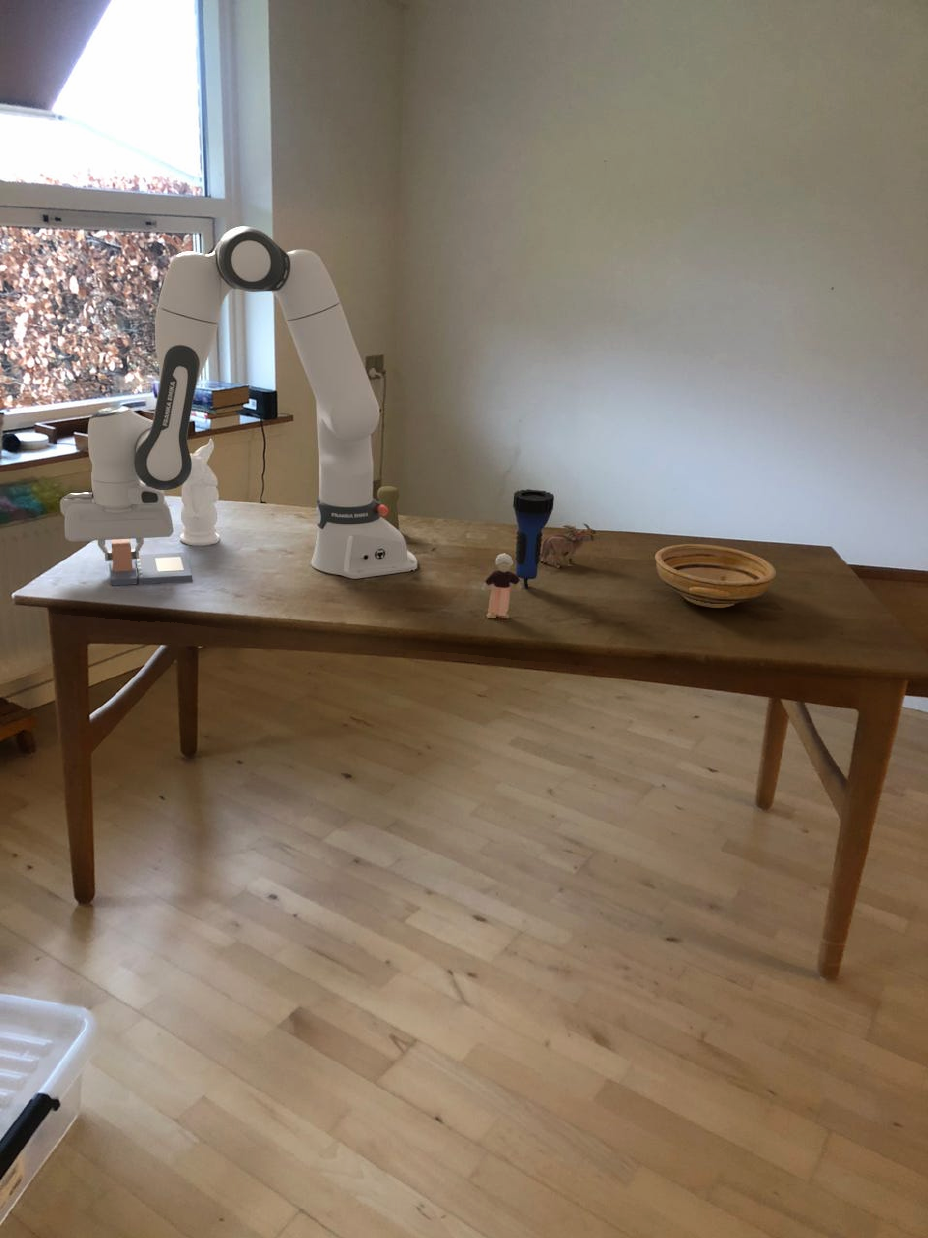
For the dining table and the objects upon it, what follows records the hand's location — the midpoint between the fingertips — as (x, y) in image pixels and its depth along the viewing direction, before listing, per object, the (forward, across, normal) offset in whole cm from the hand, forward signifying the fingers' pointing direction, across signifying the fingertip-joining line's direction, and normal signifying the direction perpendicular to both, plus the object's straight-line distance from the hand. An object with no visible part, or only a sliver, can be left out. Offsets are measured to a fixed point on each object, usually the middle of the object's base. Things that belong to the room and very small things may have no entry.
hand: (122, 559), depth 190 cm
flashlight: (+3, +78, -24) cm, 81 cm away
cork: (+3, +60, +17) cm, 62 cm away
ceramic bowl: (+3, +114, -37) cm, 120 cm away
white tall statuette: (+3, +16, +20) cm, 26 cm away
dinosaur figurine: (+3, +92, -11) cm, 92 cm away
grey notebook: (+3, +8, 0) cm, 8 cm away
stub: (+3, 0, 0) cm, 3 cm away
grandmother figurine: (+3, +67, -37) cm, 76 cm away
